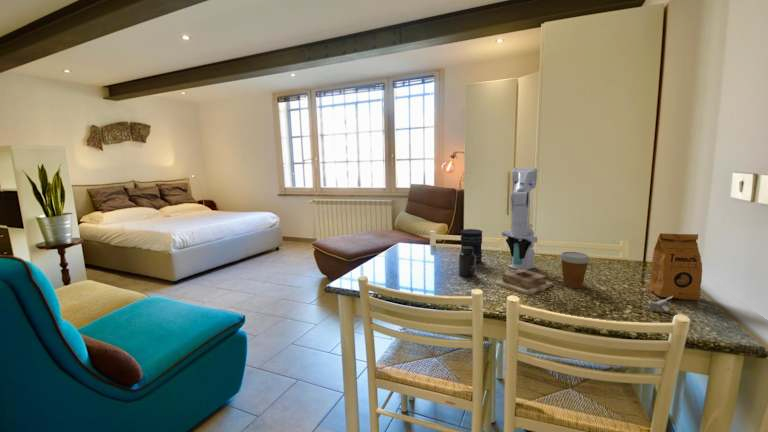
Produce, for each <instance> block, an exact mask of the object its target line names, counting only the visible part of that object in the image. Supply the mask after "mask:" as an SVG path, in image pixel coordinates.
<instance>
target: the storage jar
mask: <svg viewBox="0 0 768 432" xmlns="http://www.w3.org/2000/svg"><path fill="white" fill-rule="evenodd" d="M460 243H461V247H460V249H461V250H462V247H463V246H471V247H473V248H474V250H473V251H474V252H473V253H474V254H475V256H476V264H475V266H478V265H481V264H482V258H483V254H482V253H483V251H482V244H483V231H482V230H480V229H475V228H467V229H466V228H465V229H461V230H460ZM461 250H460V253H462V251H461Z"/></svg>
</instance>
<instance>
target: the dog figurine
mask: <svg viewBox="0 0 768 432" xmlns="http://www.w3.org/2000/svg"><path fill="white" fill-rule="evenodd" d="M671 299H674V298H673V296H671V297H668V298H665V299H660V300H658V301H652V300H650V299H649V298H647V300H648V302H647V305H648V307H647V310H648V311H649V310H652V309H657V308H659V311H661V313H663V312H669V311H670V309H671V304H670V303H669V302H668V301H669V300H671Z"/></svg>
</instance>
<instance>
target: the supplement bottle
mask: <svg viewBox="0 0 768 432" xmlns="http://www.w3.org/2000/svg"><path fill="white" fill-rule="evenodd" d="M473 250H474V248H473V247H471V246H463V247H462V250H460V253H459V255H458V275H459V276H461V277H463V278H464V277H465V278H472V277H474V276H476V265H475V264H476V256H475V254H474V253H473V252H474V251H473ZM461 251H462V253H461Z"/></svg>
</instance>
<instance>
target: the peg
mask: <svg viewBox="0 0 768 432" xmlns="http://www.w3.org/2000/svg"><path fill="white" fill-rule="evenodd" d="M513 264H516V265H521V264H522V259H520V257H519V244H518V243H514V254H513Z"/></svg>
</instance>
